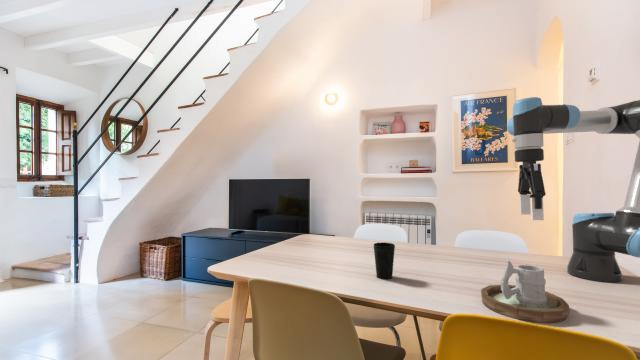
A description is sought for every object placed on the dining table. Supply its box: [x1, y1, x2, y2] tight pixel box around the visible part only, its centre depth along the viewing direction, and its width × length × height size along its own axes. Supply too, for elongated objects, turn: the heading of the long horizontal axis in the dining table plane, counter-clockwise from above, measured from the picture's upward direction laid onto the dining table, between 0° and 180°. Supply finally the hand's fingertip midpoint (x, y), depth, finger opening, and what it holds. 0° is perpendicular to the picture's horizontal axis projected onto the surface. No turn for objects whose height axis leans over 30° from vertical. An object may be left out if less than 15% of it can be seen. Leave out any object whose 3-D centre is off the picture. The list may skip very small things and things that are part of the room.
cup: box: [373, 242, 396, 280], centre depth 116 cm, size 8×8×12 cm
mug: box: [499, 259, 547, 308], centre depth 88 cm, size 8×12×12 cm, turn 89°
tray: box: [480, 284, 570, 324], centre depth 88 cm, size 20×20×3 cm
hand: (531, 217), depth 98 cm, fingers open, 13 cm apart
